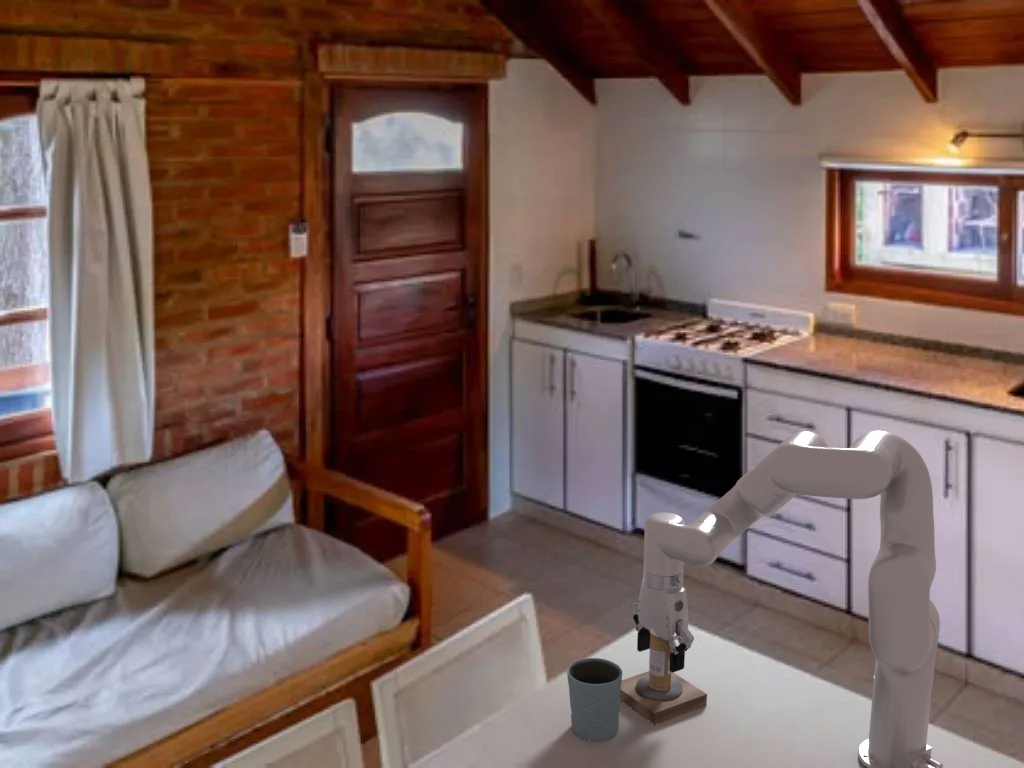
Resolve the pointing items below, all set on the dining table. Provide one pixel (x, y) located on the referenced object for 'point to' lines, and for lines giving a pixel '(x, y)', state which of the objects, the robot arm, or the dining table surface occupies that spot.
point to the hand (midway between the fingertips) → (660, 659)
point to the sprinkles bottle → (659, 663)
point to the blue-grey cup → (594, 698)
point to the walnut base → (661, 698)
